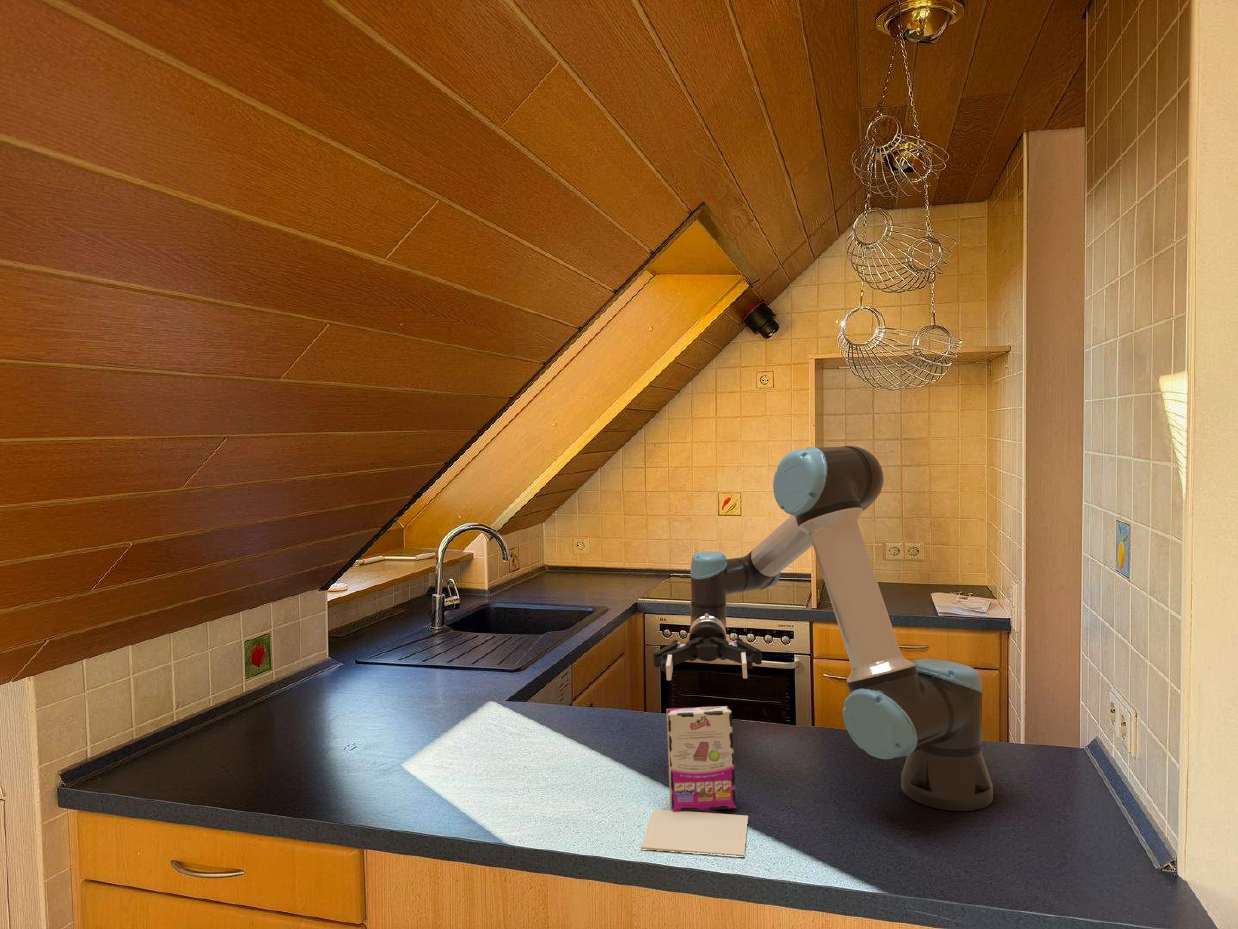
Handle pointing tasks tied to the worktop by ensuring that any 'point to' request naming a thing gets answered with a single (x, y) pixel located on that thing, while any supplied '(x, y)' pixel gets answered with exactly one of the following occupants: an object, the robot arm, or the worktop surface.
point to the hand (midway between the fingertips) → (706, 672)
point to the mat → (696, 832)
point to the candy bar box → (701, 758)
